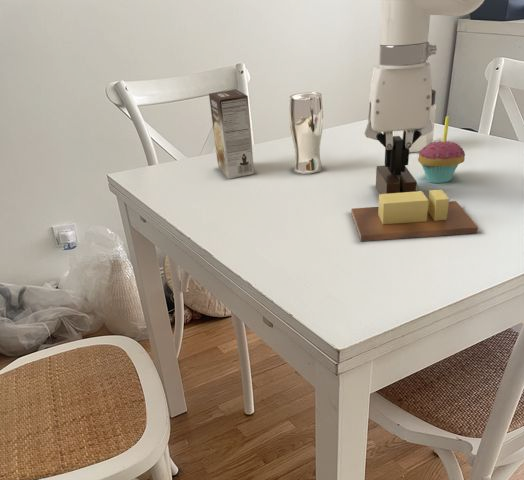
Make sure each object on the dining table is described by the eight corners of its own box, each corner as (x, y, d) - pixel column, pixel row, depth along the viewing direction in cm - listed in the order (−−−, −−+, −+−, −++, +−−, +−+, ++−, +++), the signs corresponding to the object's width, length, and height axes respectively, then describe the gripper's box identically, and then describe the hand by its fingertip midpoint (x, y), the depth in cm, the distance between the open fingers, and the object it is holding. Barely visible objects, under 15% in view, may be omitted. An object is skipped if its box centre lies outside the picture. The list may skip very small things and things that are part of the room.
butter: (420, 211, 90) (421, 190, 88) (426, 221, 86) (428, 200, 84) (378, 214, 91) (379, 194, 89) (382, 224, 87) (383, 203, 85)
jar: (428, 142, 128) (433, 87, 122) (435, 151, 122) (441, 93, 115) (390, 144, 129) (393, 90, 122) (395, 153, 123) (399, 96, 116)
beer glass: (322, 174, 114) (321, 97, 106) (290, 175, 116) (286, 99, 107) (325, 164, 120) (324, 91, 111) (294, 165, 121) (290, 93, 113)
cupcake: (422, 171, 111) (427, 108, 104) (465, 174, 107) (474, 109, 100) (412, 184, 104) (417, 119, 98) (457, 188, 101) (466, 120, 94)
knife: (394, 188, 103) (397, 133, 98) (401, 201, 98) (405, 142, 92) (387, 189, 103) (390, 133, 98) (394, 201, 98) (398, 143, 92)
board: (455, 206, 93) (456, 200, 93) (477, 233, 84) (478, 227, 83) (351, 213, 94) (351, 208, 94) (360, 241, 85) (360, 235, 84)
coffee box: (217, 168, 124) (207, 92, 115) (243, 164, 125) (236, 88, 116) (228, 179, 117) (218, 99, 108) (255, 174, 118) (249, 94, 109)
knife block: (402, 184, 105) (403, 163, 103) (415, 204, 96) (416, 181, 94) (375, 186, 105) (376, 166, 103) (385, 206, 96) (386, 184, 94)
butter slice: (439, 210, 90) (441, 189, 88) (446, 220, 86) (449, 198, 84) (427, 211, 90) (429, 190, 88) (434, 220, 86) (436, 199, 84)
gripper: (445, 49, 90) (433, 161, 101) (352, 57, 91) (350, 167, 101) (457, 54, 84) (444, 173, 94) (358, 63, 85) (355, 179, 95)
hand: (395, 169), depth 98 cm, fingers closed on knife, 1 cm apart
